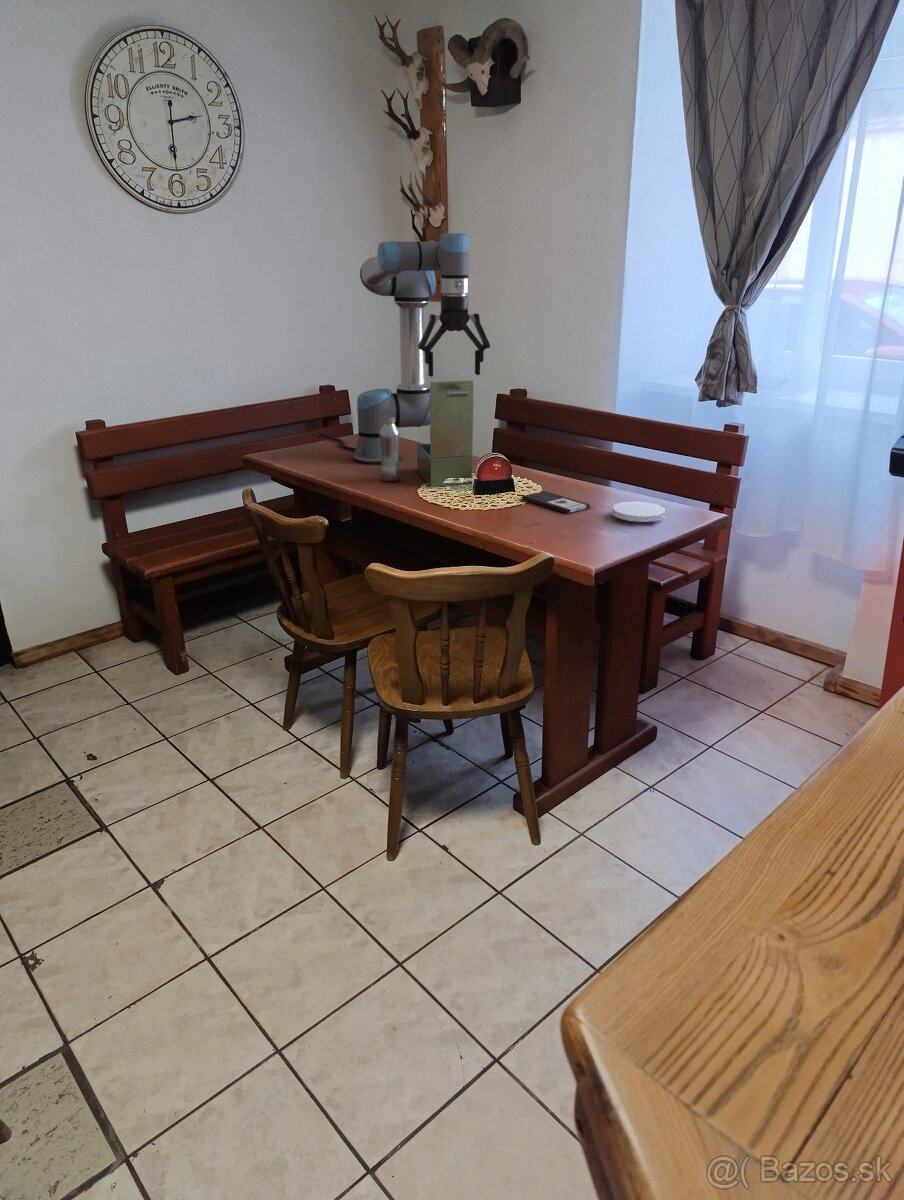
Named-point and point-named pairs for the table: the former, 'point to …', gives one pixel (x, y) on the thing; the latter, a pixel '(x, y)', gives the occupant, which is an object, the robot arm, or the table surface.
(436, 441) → the bin lid
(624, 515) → the plastic lid
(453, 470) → the green open box
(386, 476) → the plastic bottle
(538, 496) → the chocolate bar
